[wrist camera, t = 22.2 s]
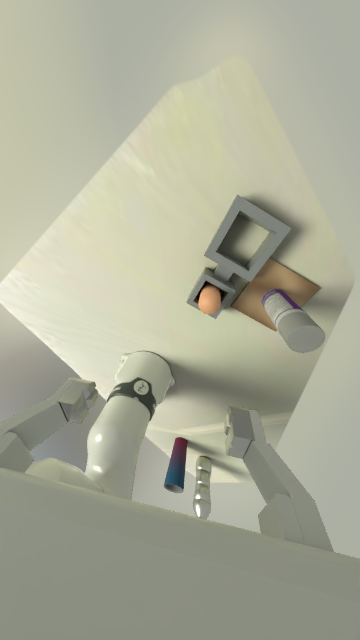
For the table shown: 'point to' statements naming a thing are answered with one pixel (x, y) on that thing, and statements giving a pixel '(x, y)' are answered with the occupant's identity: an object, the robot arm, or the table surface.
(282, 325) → the container
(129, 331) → the table surface
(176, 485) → the cup
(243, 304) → the pad
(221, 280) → the housing
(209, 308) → the peach cylinder
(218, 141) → the table surface
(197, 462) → the plastic bottle
